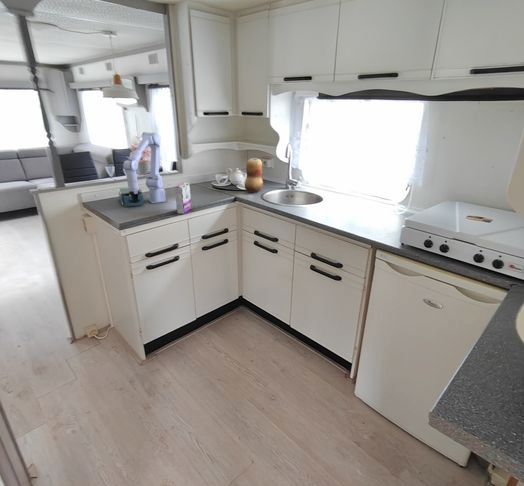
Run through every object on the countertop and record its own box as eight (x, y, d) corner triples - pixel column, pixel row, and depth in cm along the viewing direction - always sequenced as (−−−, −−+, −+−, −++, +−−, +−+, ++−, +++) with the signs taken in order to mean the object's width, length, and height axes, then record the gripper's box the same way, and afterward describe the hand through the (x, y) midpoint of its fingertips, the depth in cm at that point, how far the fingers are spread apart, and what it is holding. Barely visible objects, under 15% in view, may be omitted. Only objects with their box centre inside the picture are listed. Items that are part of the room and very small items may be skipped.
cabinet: (143, 203, 213) (141, 191, 209) (122, 206, 207) (120, 193, 204) (139, 198, 224) (137, 186, 221) (119, 200, 218) (117, 188, 215)
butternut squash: (249, 195, 235) (249, 160, 225) (241, 191, 246) (241, 157, 236) (266, 193, 241) (267, 159, 232) (257, 189, 252) (258, 156, 242)
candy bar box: (184, 208, 204) (182, 182, 197) (191, 209, 203) (189, 183, 196) (176, 213, 193) (174, 186, 187) (184, 214, 193) (182, 187, 186)
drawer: (145, 206, 204) (144, 196, 201) (126, 208, 198) (124, 198, 196) (140, 199, 218) (138, 190, 216) (121, 201, 213) (120, 192, 211)
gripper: (123, 179, 198) (126, 200, 203) (127, 184, 186) (130, 206, 191) (135, 178, 201) (138, 199, 206) (140, 182, 190) (143, 205, 195)
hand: (135, 202), depth 199 cm, fingers closed
